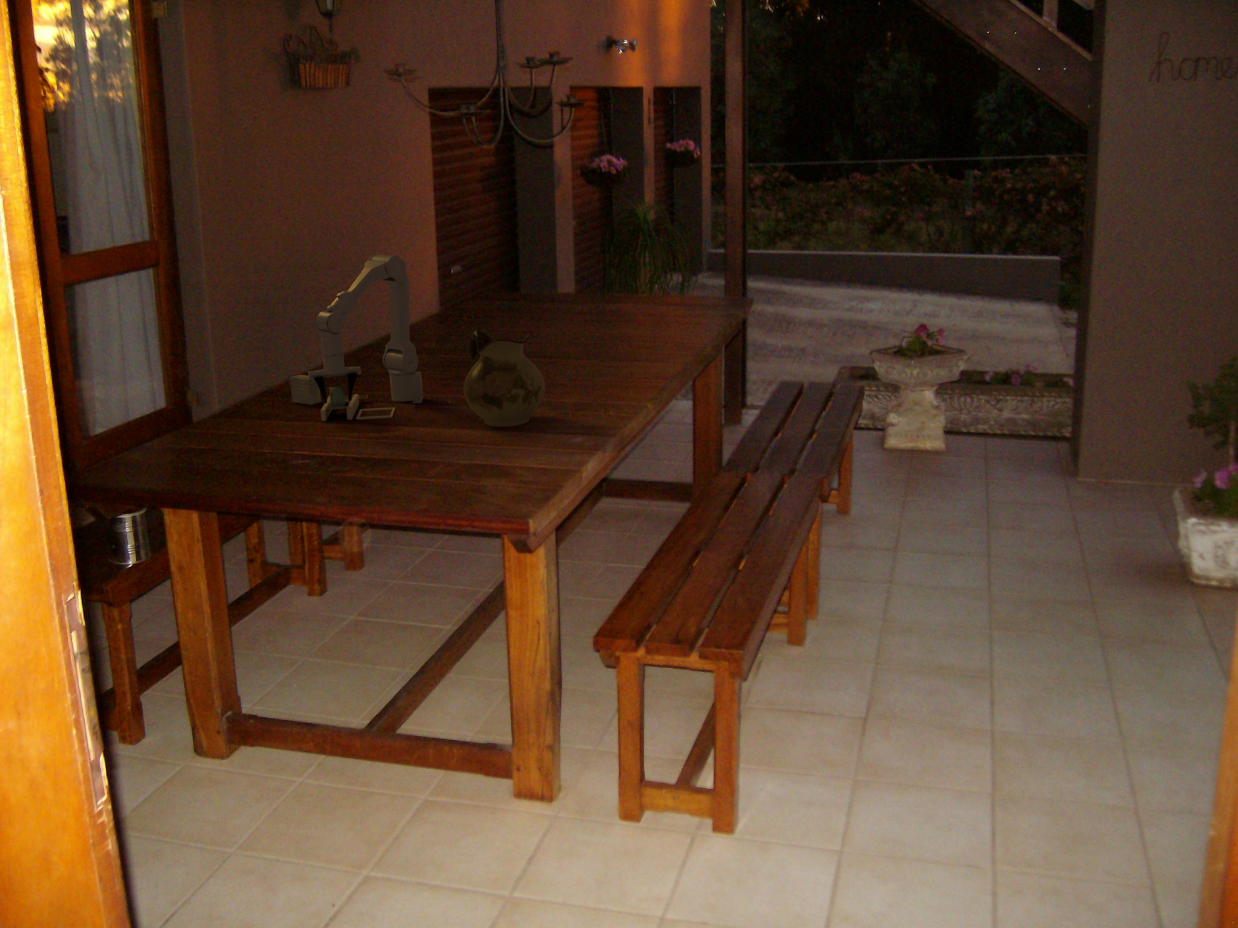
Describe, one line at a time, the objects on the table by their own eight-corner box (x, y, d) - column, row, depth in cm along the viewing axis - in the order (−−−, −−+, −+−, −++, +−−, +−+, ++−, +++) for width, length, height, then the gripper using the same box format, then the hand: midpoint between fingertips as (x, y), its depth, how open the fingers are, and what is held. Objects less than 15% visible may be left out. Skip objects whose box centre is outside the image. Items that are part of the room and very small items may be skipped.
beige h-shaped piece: (359, 407, 365) (358, 394, 364) (352, 422, 348) (350, 408, 347) (330, 408, 364) (329, 395, 363) (321, 424, 347) (320, 410, 346)
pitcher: (534, 432, 331) (529, 340, 324) (450, 431, 335) (443, 340, 328) (555, 412, 352) (550, 326, 345) (476, 411, 356) (470, 326, 349)
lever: (368, 408, 368) (367, 394, 368) (359, 407, 348) (358, 393, 348) (337, 409, 367) (336, 396, 367) (327, 409, 348) (326, 395, 348)
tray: (395, 412, 358) (395, 407, 357) (392, 420, 348) (392, 415, 348) (360, 413, 357) (360, 409, 357) (356, 422, 348) (356, 417, 347)
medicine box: (322, 405, 369) (319, 376, 367) (311, 408, 366) (308, 379, 363) (303, 402, 374) (300, 374, 371) (292, 405, 370) (289, 377, 367)
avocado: (346, 406, 353) (344, 387, 353) (343, 406, 349) (342, 386, 349) (331, 407, 353) (330, 388, 352) (329, 407, 349) (328, 387, 348)
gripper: (356, 349, 353) (361, 395, 357) (305, 354, 348) (310, 400, 352) (360, 353, 347) (364, 400, 350) (307, 358, 342) (312, 406, 346)
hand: (337, 401), depth 351 cm, fingers open, 6 cm apart
